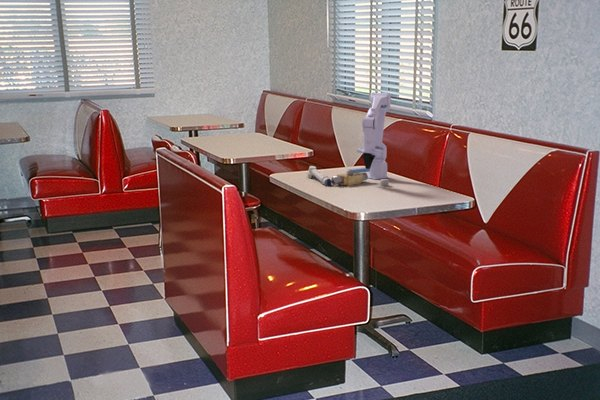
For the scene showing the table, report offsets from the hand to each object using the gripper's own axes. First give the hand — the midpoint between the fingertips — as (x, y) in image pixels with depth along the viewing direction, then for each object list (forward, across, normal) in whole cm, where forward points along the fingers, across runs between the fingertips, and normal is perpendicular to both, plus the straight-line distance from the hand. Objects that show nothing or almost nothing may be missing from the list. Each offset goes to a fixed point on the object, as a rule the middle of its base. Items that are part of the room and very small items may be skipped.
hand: (368, 168), depth 367 cm
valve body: (+8, -6, -7) cm, 12 cm away
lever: (+3, -5, -2) cm, 6 cm away
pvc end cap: (+8, +8, +4) cm, 12 cm away
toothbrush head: (+8, -19, -15) cm, 26 cm away
